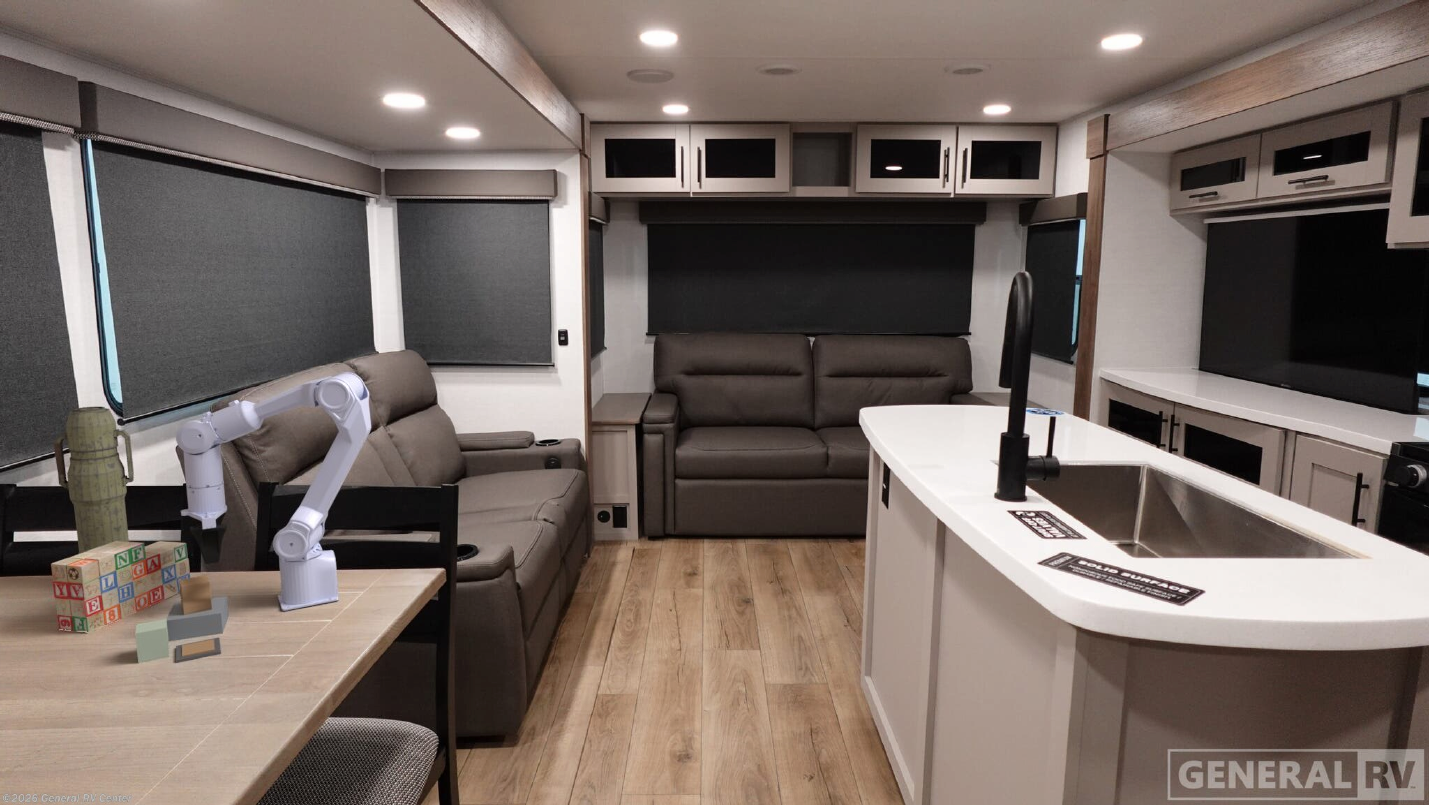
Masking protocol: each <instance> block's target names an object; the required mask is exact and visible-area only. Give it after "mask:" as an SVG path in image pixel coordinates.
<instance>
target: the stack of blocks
mask: <svg viewBox="0 0 1429 805" xmlns="http://www.w3.org/2000/svg"><path fill="white" fill-rule="evenodd" d="M50 567H51V575H52V588H53V596H54V601H55V608H56V614H57V615H56V617H57V619H56V620H57V624H58V630H59V629H63V630H65V629H66V630H71V631H87V632H89V631H92V630H93V629H95V628H99V627H100V626H104V625H107V624H109V623H111V622H114V623H116V622H115V621H117V620H119V619H121V620H123V619H125V618H124V617H126V618H128V617H130V616H132V615H134V614H133V613H135V612H136V613H138V612H140V611H143V610H144V608H145V609H147V608H149V607H151V606H153V605H155V603H156V604H158V603H160V602H161V601H164V600H167V599H168V598H171V597H173V596H176V595H178V594H180V586H179V580H182V579H187V578H191V574H190V560H189V558H188V547H187V543H186V542H176V541H163V540H162V541H161V540H160V541H159V540H158V541H156V542H154V543H152V544H149V545H146V546H145V542H135V541H129V542H122V541H114V542H112V543H109V544H106V545H103V546H100V547H97V548H94V549H91V550H89V551H87V552H84V553H81V554H79V553H78V554H75V555H73V556H69V557H67V558H64V559H61V560H58V561H55V562H52V563H51V564H50ZM150 605H151V606H150ZM139 610H140V611H139ZM137 611H138V612H137ZM136 613H135V614H136ZM129 615H130V616H129ZM127 616H128V617H127ZM122 618H123V619H122ZM119 621H120V620H119ZM117 622H118V621H117Z"/></svg>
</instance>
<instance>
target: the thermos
mask: <svg viewBox="0 0 1429 805" xmlns="http://www.w3.org/2000/svg"><path fill="white" fill-rule="evenodd" d="M65 430H66V433H63V434H61V435H58V436H57V438H56V439H55V440H54V442H53V443H52V445H53V449H54V458H55V462H56V463H55V464H56V470H57V476H58V477H57V478H58V485H60V486H61V487H62V488H64V489H67V491H68V494H69V500H70V501H71V502H72V505H73V508H74V509H73V510H74V517H75V527H76V536H77V545H78V554H81V553H84V552H87V551H89V550H91V549H94V548H97V547H100V546H103V545H106V544H109V543H112V542H114V541H122V542H130V540H129V531H128V521H127V520H128V519H127V510H126V501H125V500H126V498H125V497H126V495H127V491H128V490H127V485H128V483H133V482H134V478H135V477H134V475H135V474H134V462H133V453H132V452H133V451H132V440H131V435H130V434H129V433H127V431H126V430H124V429H123V430H122V429H121V430H120V429H118V428H117V422H116V419H115V417H114V415H113V413H112V412H111V409H109V408H106V407H105V406H84V407H77V408H74V410H71V411H70V412H69V414H68V417H67V420H66V424H65ZM119 436H121V437H123V439H124V444H125V455H126V463H127V475H126V473H125V472H126V470H125V466H124V464H123V462H122V460H121V458H120V453H119V452H118V446H119V440H118V437H119ZM65 439H66V440H67V447H68V451H69V454H70V457H69V466H68V468H67V469H68V470H66V463H65V455H64V454H65V453H64V446H63V441H64V440H65Z"/></svg>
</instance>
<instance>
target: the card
mask: <svg viewBox="0 0 1429 805" xmlns="http://www.w3.org/2000/svg"><path fill="white" fill-rule="evenodd" d="M220 640H221V639H220V637H215V638H214V637H213V638H210V639H209V638H208V639H204V640H200V641H199V640H198V641H195V642H190V643H189V642H188V643H183V644H180V645H176V648H175V650H176V651H175V653H176V654H175V663H176V664H177V663H183V662H186V661H191V660H197V659H200V658H205V657H209V656H215V655H220V654H222V651H221V650H222V648H221V642H220Z"/></svg>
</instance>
